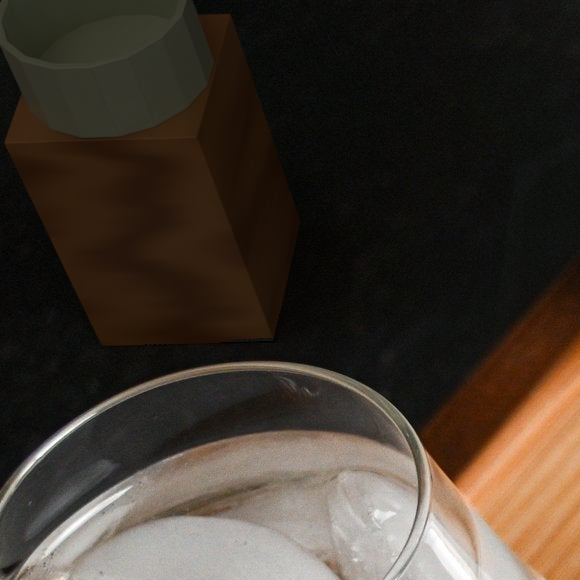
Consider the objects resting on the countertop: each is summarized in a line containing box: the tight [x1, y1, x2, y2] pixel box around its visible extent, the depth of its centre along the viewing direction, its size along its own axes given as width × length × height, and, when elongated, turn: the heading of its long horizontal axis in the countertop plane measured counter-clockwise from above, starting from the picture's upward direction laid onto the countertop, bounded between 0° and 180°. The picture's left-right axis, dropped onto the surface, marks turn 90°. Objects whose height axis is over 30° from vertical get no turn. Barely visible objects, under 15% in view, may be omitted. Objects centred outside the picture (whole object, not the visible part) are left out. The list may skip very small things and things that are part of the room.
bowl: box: [0, 0, 214, 138], centre depth 119 cm, size 12×12×5 cm
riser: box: [4, 13, 302, 347], centre depth 128 cm, size 12×12×17 cm
